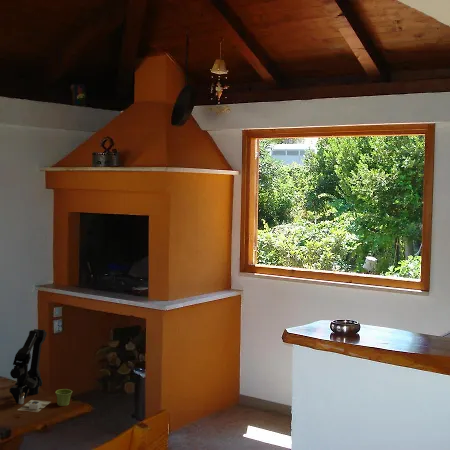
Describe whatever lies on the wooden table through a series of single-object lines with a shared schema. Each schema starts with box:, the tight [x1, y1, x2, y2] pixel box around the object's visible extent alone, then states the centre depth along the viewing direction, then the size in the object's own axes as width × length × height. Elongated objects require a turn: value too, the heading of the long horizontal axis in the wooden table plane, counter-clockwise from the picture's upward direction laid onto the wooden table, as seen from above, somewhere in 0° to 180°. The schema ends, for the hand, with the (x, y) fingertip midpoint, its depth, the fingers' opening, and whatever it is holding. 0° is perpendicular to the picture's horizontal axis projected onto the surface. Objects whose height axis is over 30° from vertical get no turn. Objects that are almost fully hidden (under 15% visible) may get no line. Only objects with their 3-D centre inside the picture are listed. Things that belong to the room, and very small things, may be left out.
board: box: [17, 399, 51, 413], centre depth 347 cm, size 18×12×2 cm, turn 173°
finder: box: [29, 400, 42, 410], centre depth 342 cm, size 5×5×3 cm
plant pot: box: [55, 388, 73, 407], centre depth 352 cm, size 9×9×9 cm
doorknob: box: [18, 392, 25, 405], centre depth 349 cm, size 4×4×8 cm
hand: (21, 400), depth 350 cm, fingers open, 9 cm apart
